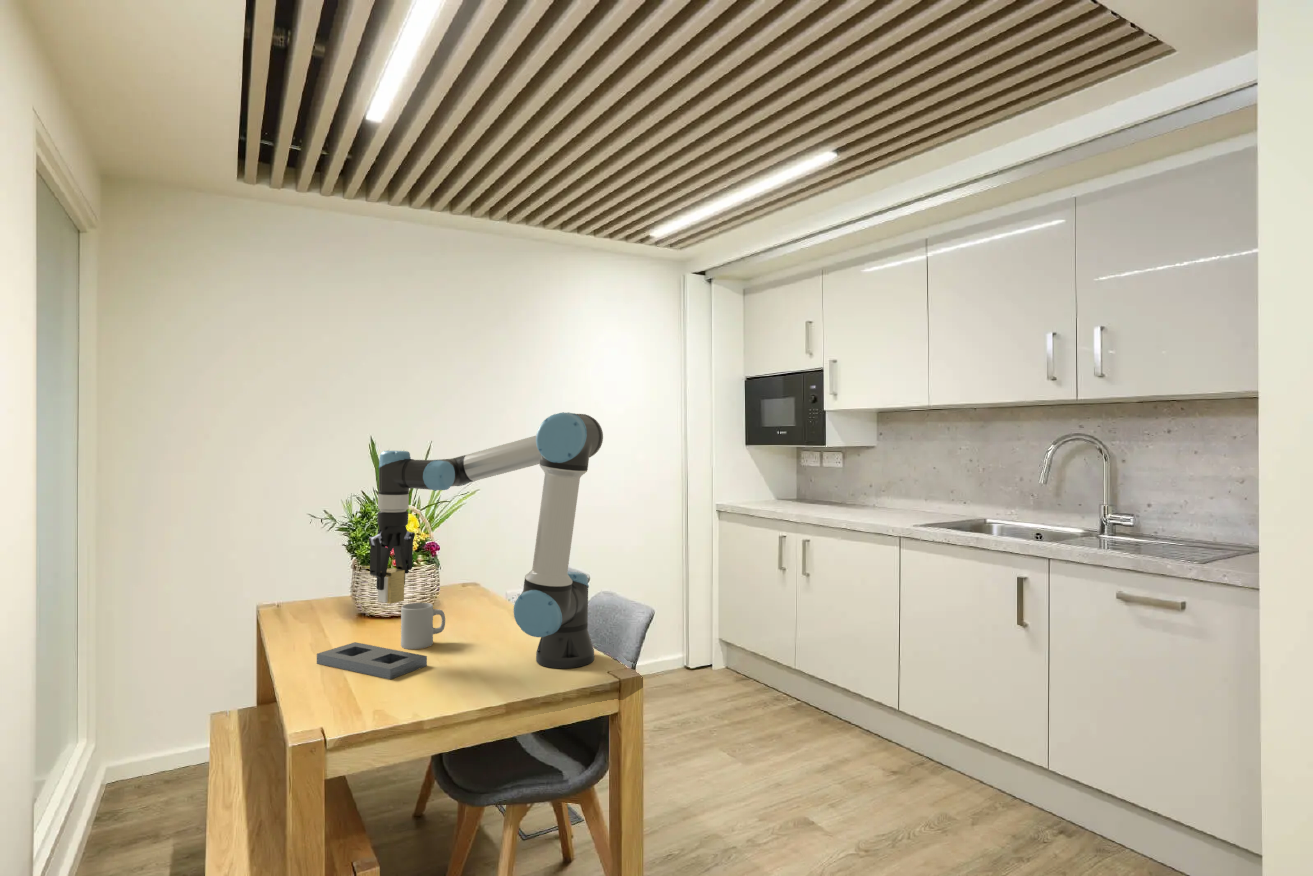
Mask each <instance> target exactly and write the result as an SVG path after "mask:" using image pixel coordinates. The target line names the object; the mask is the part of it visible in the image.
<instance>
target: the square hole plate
mask: <svg viewBox="0 0 1313 876" xmlns="http://www.w3.org/2000/svg"><path fill="white" fill-rule="evenodd" d="M316 664H317V665H322V666H327V667H331V668H335V669H340V670H344V671H349V672H353V673H354V672H355V673H359V674H364V675H368V676H372V677H377V678H381V679H387V680H392V679H393V680H394V679H395V678H398V677H400V676H403V675H406V674H408V673H409V674H410V673H412V672H414V671H418V670H419V668H420V669H422V668H425V667H427V666H428V656H427V655H425V654H424V655H423V654H418V653H412V652H407V651H403V650H397V649H392V648H388V647H387V648H386V647H383V646H381V647H380V646H376V645H371V644H366V643H360V642H351V643H348V644H345V645H341V646H338V647H334V648H332V649H331V648H330V649H328V650H324V651H321V652H319V653H316Z"/></svg>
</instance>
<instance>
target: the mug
mask: <svg viewBox="0 0 1313 876" xmlns="http://www.w3.org/2000/svg"><path fill="white" fill-rule="evenodd" d="M400 613H401V614H400V624H401V625H400V646H401V648H403V649H405V650H422V649H426V648H429V647H431V646H433V643H434V635H437V634H440V633H442V632H444V629H445V627H446V615H445V611H443V610H442V609H440V608H439V609H438V608H434V606H433V604H432V603H430V602H410V603H406V604H403V605H402V606H401V608H400ZM435 616H440V617H441V624H440V626H439V627H434V624H433V622H434V617H435ZM428 646H429V647H428ZM421 648H422V649H421Z"/></svg>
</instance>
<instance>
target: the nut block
mask: <svg viewBox="0 0 1313 876" xmlns="http://www.w3.org/2000/svg"><path fill="white" fill-rule="evenodd" d="M385 577H388V603H386V604H389V605H391V604H396V603H399V602H404V601H405V585H404V577H405V578H406V573H405V570H401V569H396V567H395V568H393V567H390V568H387V572H386V576H385Z"/></svg>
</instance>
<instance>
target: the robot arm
mask: <svg viewBox="0 0 1313 876" xmlns="http://www.w3.org/2000/svg"><path fill="white" fill-rule="evenodd" d="M603 441H604V432H603V429H602V426H601V425H600V423H599V422H598V421H597V419H595V418H594V417H592V416H591V415H589V414H586V413H573V412H559V413H554V414H552V415H550V416H547V417H546V418H545V419H544V420H543V421H542V422H541V424H540V425H539V427H538V429H537V432H536V434H535V435H532V436H529V437H525V438H522V439H518V440H514V441H510V442H508V443H503V444H501V445H500V444H499V445H496V446H493V447H490V448H485V449H483V450H478V451H476V452H471V453H467V454H464V455H460V456H457V457H453V458H446V459H445V458H443V459H440V458H439V459H413V458H411V453H410V452H409V451H408V450H384V451H381V452H380V454H379V464H378V496H377V508H378V512H377V521H376V522H377V525H378V527H379V528H378V531H377V534H376V535H374V536H369V537H368V543H369V545H370V546H369V547H370V550H369V551H370V552H369V575H370V576H374V577H375V578H376V586H375V587H376V590H377V602H378V603H384V604H387V603H388V577H385V576H386V572H387V569H388V567H389V561H390V556H391V552H392V551H393V557H394V562H395V569H401V570H405V575H406V574H409V573H410V571H411V570H412V569H413V553H414V551H413V550H414V540H415V536H416V533H415V532H411V531H408V530H407V526H408V525H409V511H407V510H408V509H409V502H410V501H409V498H410V489H416V490H418V489H419V490H429V491H445V490H446V491H448V490H449V489H450V488H452V487H461V486H465V485H468V484H470V483H474V482H476V481H479V480H485V479H488V478H492V477H496V476H499V475H503V474H506V473H510V472H513V471H514V472H515V471H518V470H521V469H525V468H530V467H533V466H537V465H539V466H540V468H541V470H542V471H543V472H544V476H543V477H544V478H543V486H542V492H541V501H540V509H539V517H538V522H537V523H538V524H537V531H536V539H535V546H534V555H533V562H532V568H531V570H530V571H529V572H528V573H526V574H525V575H524V581H523V588H522V593H520V595H519V596H518V597H517V599H516V601H514V606H513V617H514V620H515V622H516V624H517V626H518V627H519V628H520V630H521V631H522V632H523V633H525V634H526V635H528V636H530V637H534V638H540V639H539V643H538V645H537V649H536V651H535V655H536V656H535V661H536V663H537V664H538V665H540V666H542V667H547V668H552V669H553V668H554V669H572V668H573V669H574V668H580V667H583V666H587V665H590V664H591V663H593V662H594V660H595V649H594V647H593V646H594V645H593V643H592V639H591V637H590V636H591V635H590V633H589V629H588V625H589V624H588V623H589V588H590V586H589V579H588V575H587V574H586V573H584V572H578V571H577V572H576V571H569V566H570V565H569V564H570V563H569V562H570V555H571V549H572V541H573V535H574V528H575V519H576V510H577V503H578V495H579V489H580V479H581V477H583V475H585V474H586V473H587V472H588V468H589V460H590V458H591V457H593V456H595V454H597V453H598V452H599V451H600V449H601V447H602V444H603V443H604V442H603ZM405 584H406V576H405V577H404V586H405Z"/></svg>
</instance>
